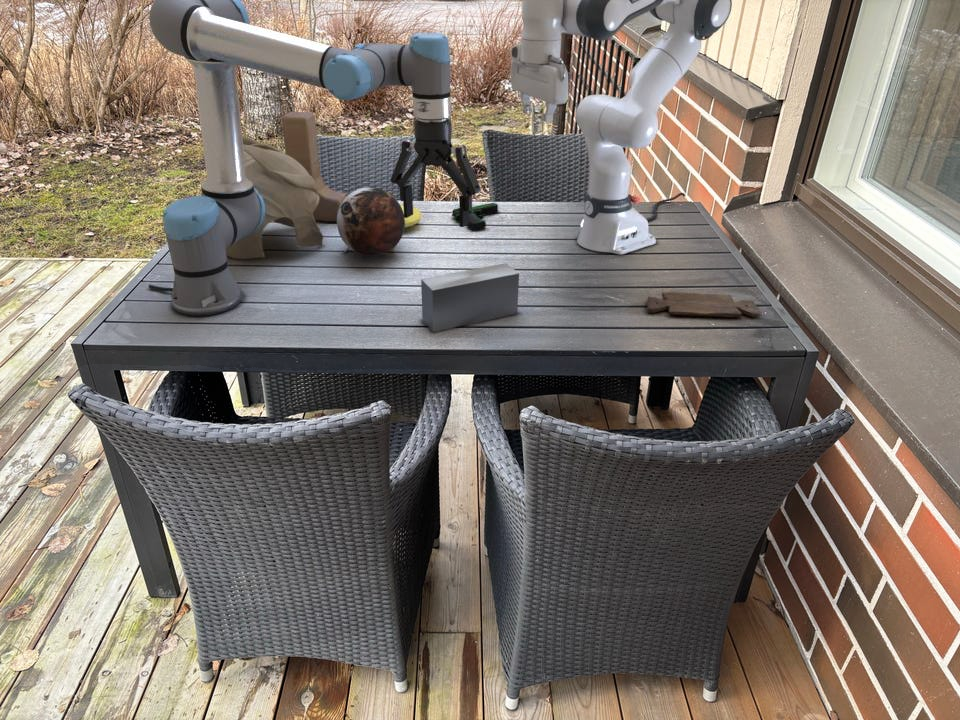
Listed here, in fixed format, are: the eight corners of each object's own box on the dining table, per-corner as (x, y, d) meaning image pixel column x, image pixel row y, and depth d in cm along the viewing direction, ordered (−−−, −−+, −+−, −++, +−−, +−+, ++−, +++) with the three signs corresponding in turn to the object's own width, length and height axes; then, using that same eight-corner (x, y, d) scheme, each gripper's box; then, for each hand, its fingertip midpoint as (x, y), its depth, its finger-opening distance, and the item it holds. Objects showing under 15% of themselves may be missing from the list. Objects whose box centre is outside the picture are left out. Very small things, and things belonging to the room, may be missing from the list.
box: (504, 302, 168) (505, 263, 163) (517, 313, 163) (519, 273, 158) (422, 320, 160) (421, 279, 155) (433, 332, 155) (432, 290, 150)
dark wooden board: (642, 297, 172) (648, 316, 163) (643, 291, 171) (649, 310, 162) (751, 300, 171) (762, 319, 162) (752, 293, 170) (764, 313, 161)
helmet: (337, 253, 194) (330, 140, 179) (228, 274, 179) (210, 153, 164) (298, 224, 213) (288, 120, 198) (196, 241, 198) (178, 130, 183)
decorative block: (341, 222, 212) (332, 118, 197) (293, 219, 214) (280, 116, 199) (348, 214, 219) (340, 113, 204) (301, 211, 221) (289, 110, 205)
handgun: (467, 223, 206) (446, 206, 217) (467, 232, 208) (445, 215, 219) (516, 216, 213) (492, 199, 224) (515, 225, 214) (492, 209, 226)
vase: (376, 214, 219) (375, 191, 216) (426, 217, 218) (426, 194, 214) (362, 232, 206) (360, 208, 202) (415, 235, 204) (415, 212, 201)
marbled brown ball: (330, 217, 201) (372, 164, 193) (380, 258, 206) (423, 208, 197) (307, 245, 182) (352, 187, 173) (363, 289, 186) (409, 234, 178)
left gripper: (369, 116, 145) (377, 217, 155) (480, 128, 135) (480, 234, 146) (389, 109, 151) (395, 207, 161) (496, 120, 141) (496, 223, 152)
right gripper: (578, 58, 151) (573, 125, 158) (530, 46, 166) (527, 108, 173) (552, 60, 148) (548, 128, 155) (506, 47, 164) (504, 110, 171)
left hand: (436, 220), depth 154 cm, fingers open, 13 cm apart
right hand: (537, 117), depth 165 cm, fingers open, 8 cm apart
